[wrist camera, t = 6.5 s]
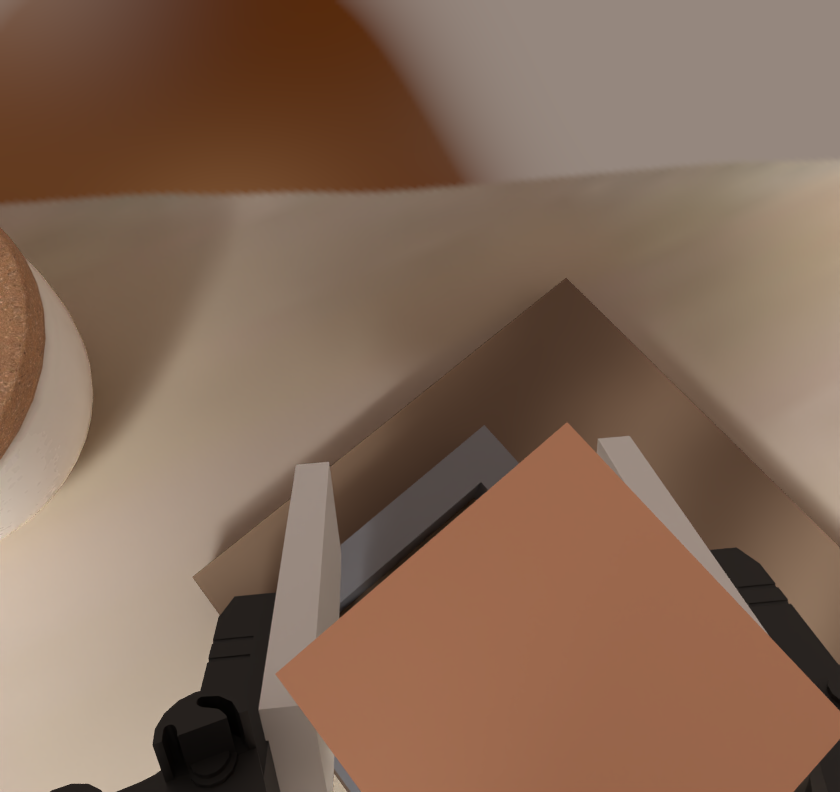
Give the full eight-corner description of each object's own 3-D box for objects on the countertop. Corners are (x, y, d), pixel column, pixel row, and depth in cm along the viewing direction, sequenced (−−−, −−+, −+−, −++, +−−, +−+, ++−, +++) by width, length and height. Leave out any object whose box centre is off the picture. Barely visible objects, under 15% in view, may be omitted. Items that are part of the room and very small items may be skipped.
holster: (255, 631, 21) (235, 632, 18) (476, 446, 23) (484, 424, 20) (450, 897, 19) (456, 937, 16) (675, 668, 20) (710, 674, 18)
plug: (354, 642, 19) (274, 673, 8) (475, 536, 20) (566, 421, 9) (462, 782, 18) (557, 1060, 7) (584, 662, 19) (852, 724, 8)
